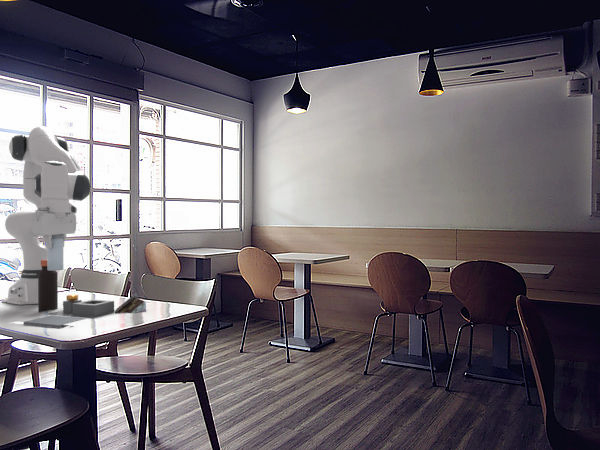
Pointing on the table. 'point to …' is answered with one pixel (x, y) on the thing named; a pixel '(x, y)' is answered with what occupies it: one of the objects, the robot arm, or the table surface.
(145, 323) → the table surface
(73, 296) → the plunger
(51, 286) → the bottle
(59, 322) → the mat
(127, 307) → the chocolate cake
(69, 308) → the block
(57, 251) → the block
